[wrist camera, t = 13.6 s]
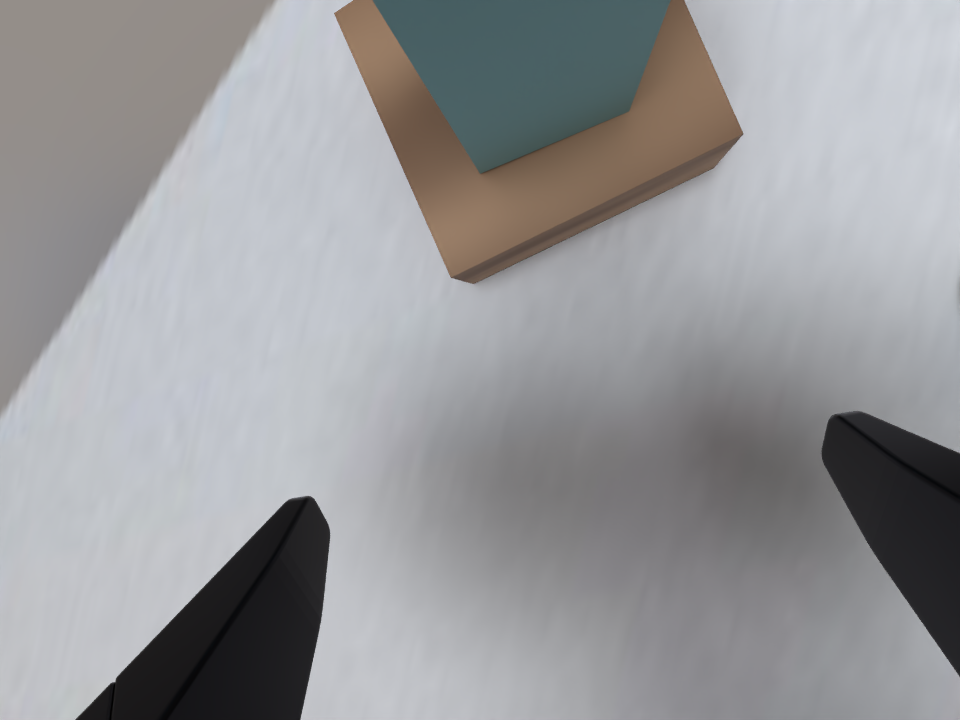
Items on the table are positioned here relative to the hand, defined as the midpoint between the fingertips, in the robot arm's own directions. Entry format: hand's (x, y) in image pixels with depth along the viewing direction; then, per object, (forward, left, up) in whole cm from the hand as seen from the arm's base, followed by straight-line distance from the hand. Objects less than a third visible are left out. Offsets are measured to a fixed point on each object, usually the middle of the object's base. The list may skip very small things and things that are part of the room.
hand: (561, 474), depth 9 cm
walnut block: (+3, -10, -12) cm, 16 cm away
